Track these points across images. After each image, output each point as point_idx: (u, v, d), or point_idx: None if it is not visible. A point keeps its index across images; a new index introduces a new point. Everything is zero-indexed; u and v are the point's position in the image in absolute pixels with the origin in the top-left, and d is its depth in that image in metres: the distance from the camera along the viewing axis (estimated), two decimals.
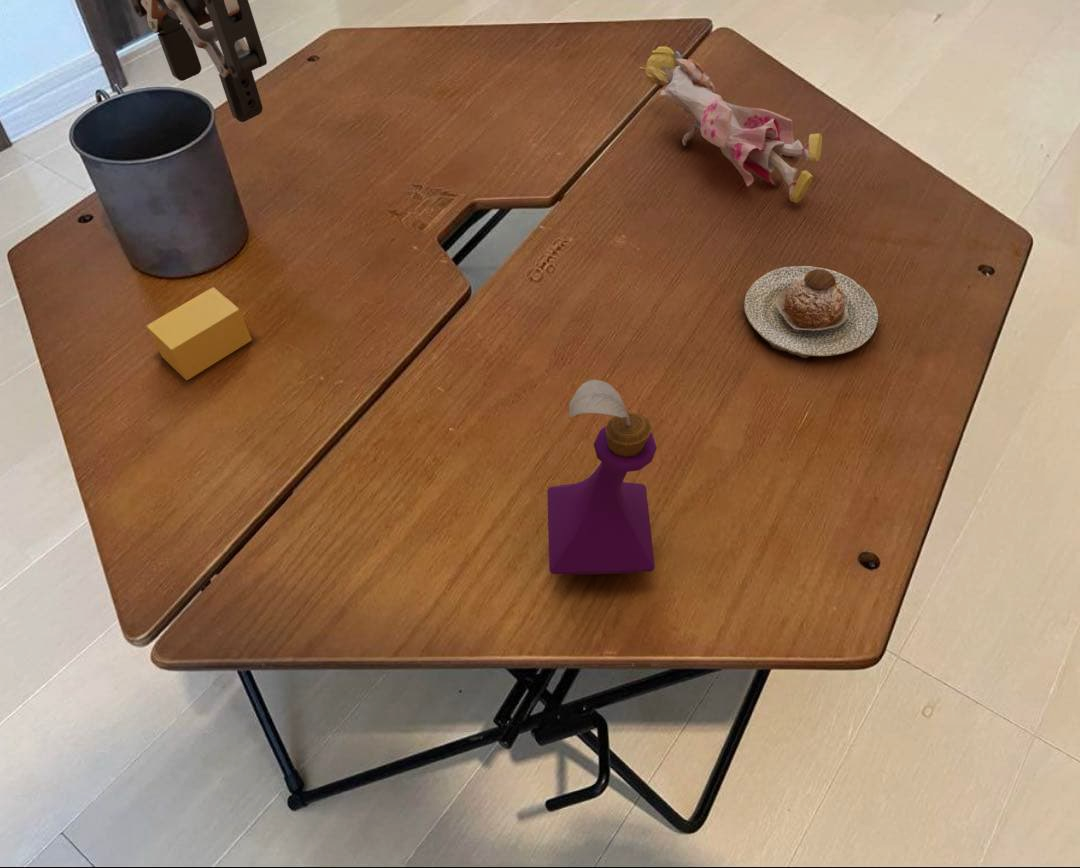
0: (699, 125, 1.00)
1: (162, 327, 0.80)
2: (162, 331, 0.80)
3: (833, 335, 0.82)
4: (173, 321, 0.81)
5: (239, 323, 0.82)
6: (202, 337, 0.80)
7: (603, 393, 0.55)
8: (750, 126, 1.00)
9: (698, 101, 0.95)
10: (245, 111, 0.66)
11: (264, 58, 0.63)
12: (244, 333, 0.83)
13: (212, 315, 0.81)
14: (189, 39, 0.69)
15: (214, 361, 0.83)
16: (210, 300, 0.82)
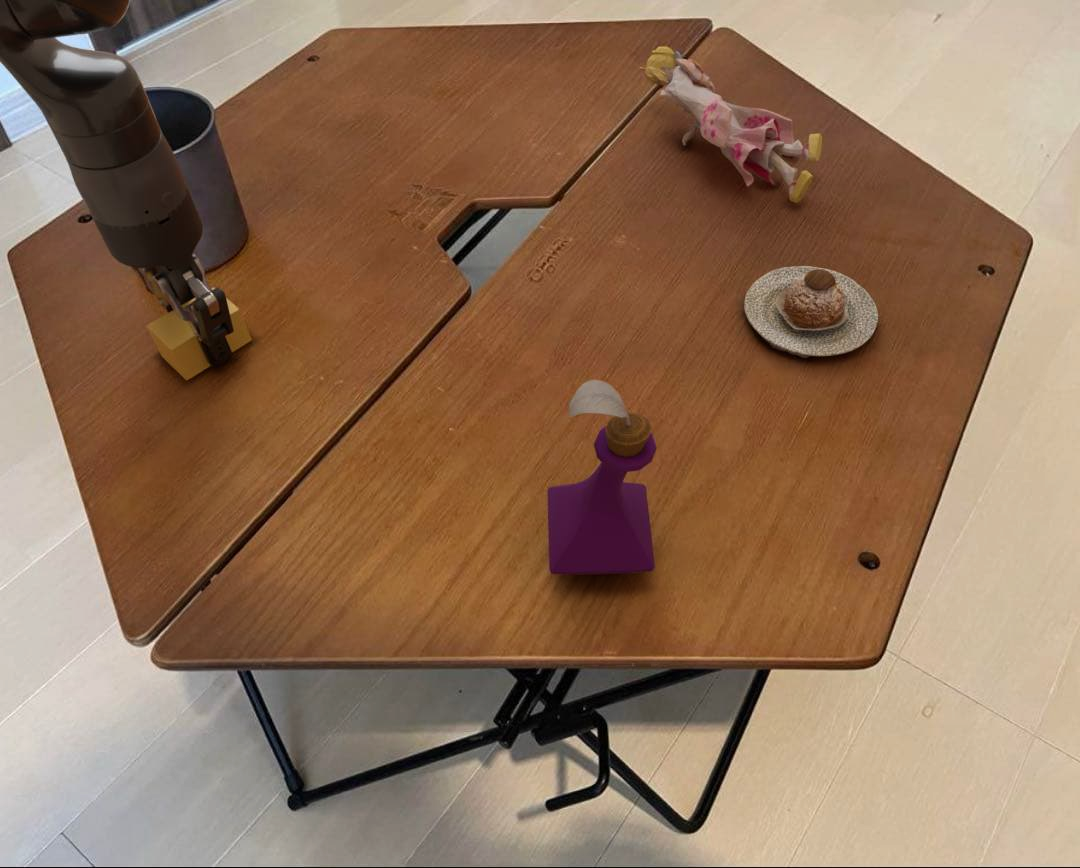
0: (699, 125, 1.00)
1: (162, 327, 0.80)
2: (162, 331, 0.80)
3: (833, 335, 0.82)
4: (173, 321, 0.81)
5: (239, 323, 0.82)
6: None
7: (603, 393, 0.55)
8: (750, 126, 1.00)
9: (698, 101, 0.95)
10: (217, 361, 0.81)
11: (232, 330, 0.78)
12: (244, 333, 0.83)
13: None
14: None
15: None
16: None
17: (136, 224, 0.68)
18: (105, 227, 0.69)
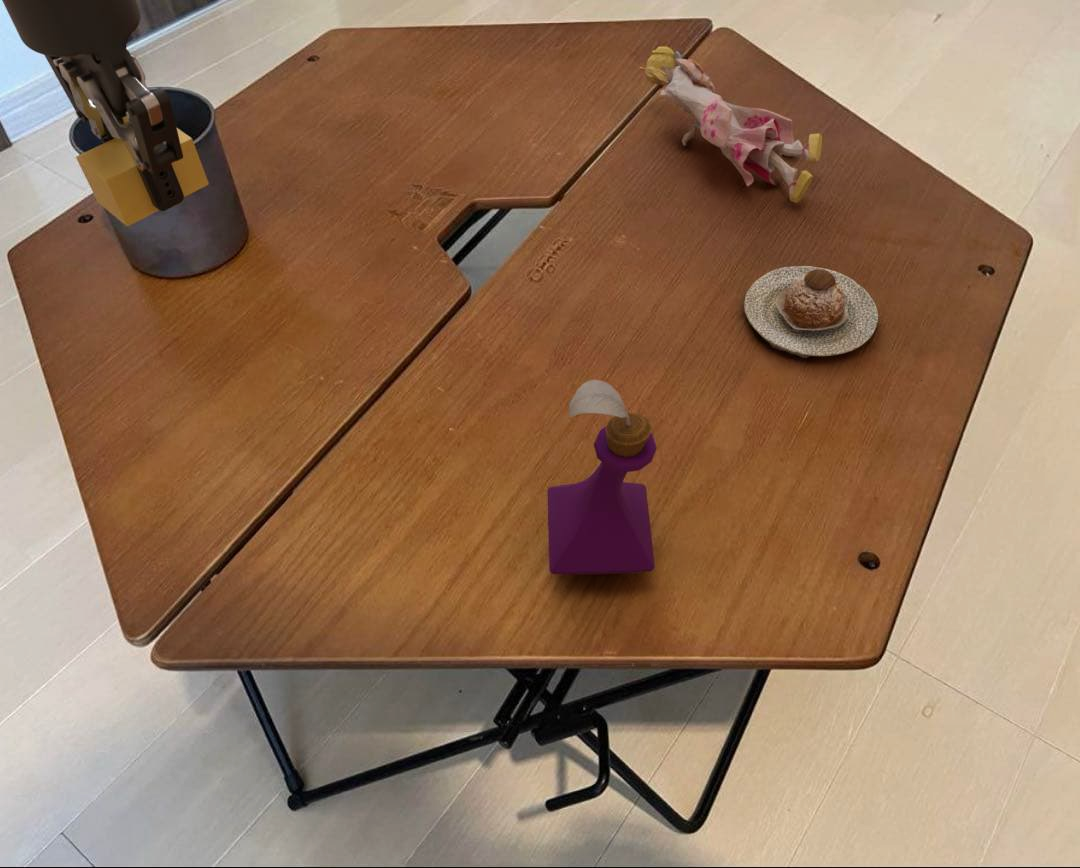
0: (699, 125, 1.00)
1: (95, 158, 0.65)
2: (95, 162, 0.64)
3: (833, 335, 0.82)
4: (109, 151, 0.65)
5: (192, 158, 0.67)
6: None
7: (603, 393, 0.55)
8: (750, 126, 1.00)
9: (698, 101, 0.95)
10: (165, 201, 0.66)
11: (181, 155, 0.63)
12: (198, 173, 0.68)
13: None
14: None
15: None
16: None
17: None
18: None
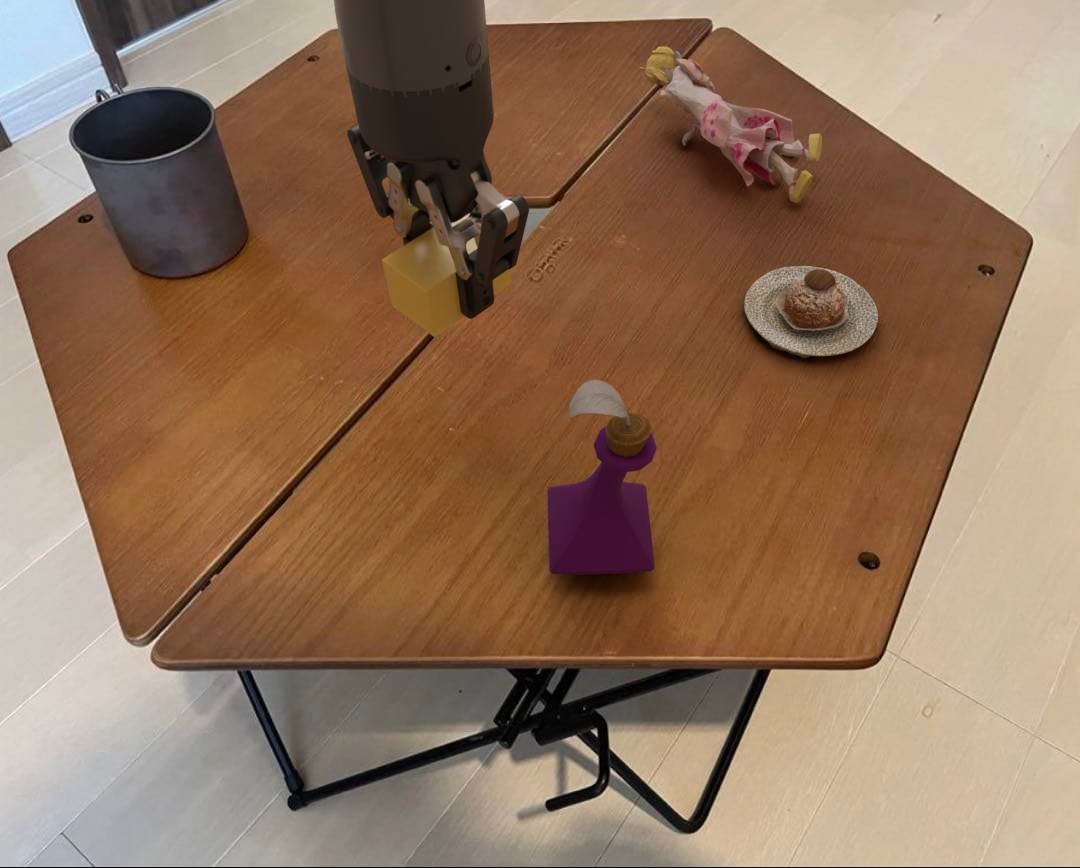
0: (699, 125, 1.00)
1: (405, 261, 0.57)
2: (407, 267, 0.56)
3: (833, 335, 0.82)
4: (419, 253, 0.57)
5: None
6: None
7: (603, 393, 0.55)
8: (750, 126, 1.00)
9: (698, 101, 0.95)
10: (479, 310, 0.58)
11: (515, 263, 0.55)
12: (506, 273, 0.60)
13: (472, 245, 0.58)
14: None
15: None
16: None
17: (429, 89, 0.45)
18: (379, 94, 0.46)
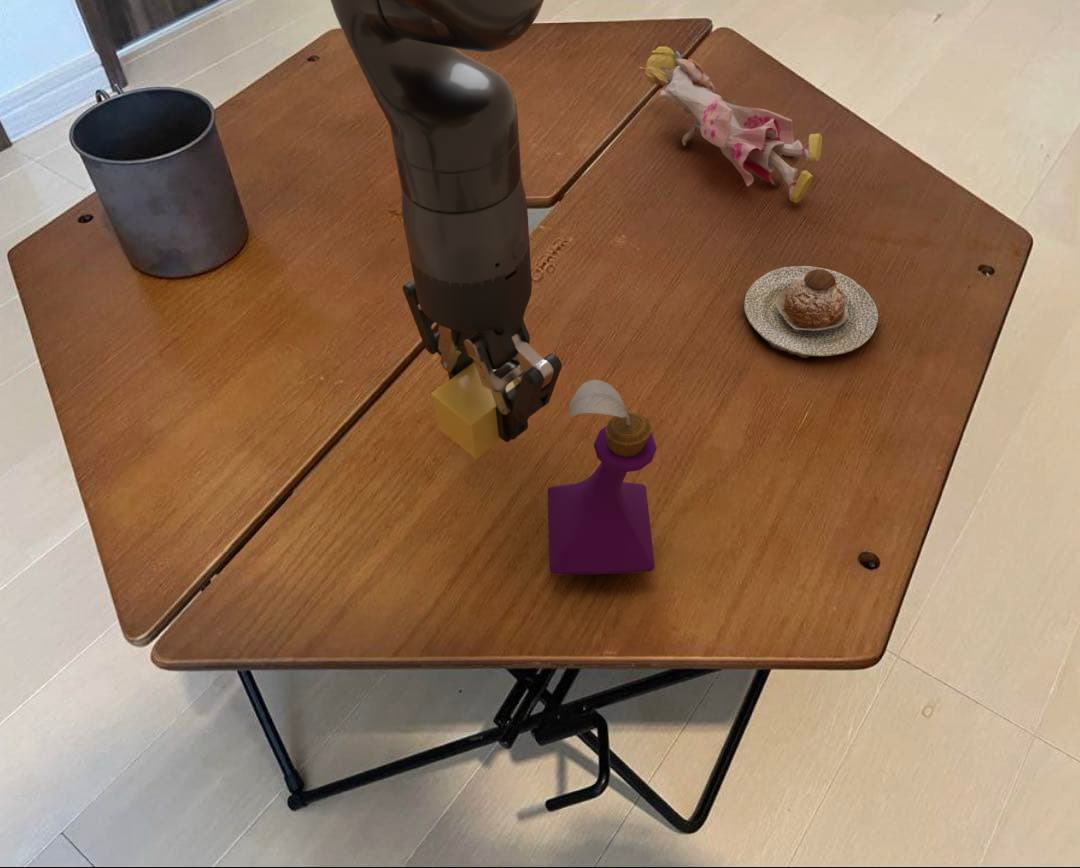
0: (699, 125, 1.00)
1: (452, 395, 0.65)
2: (453, 401, 0.65)
3: (833, 335, 0.82)
4: (463, 388, 0.66)
5: None
6: None
7: (603, 393, 0.55)
8: (750, 126, 1.00)
9: (698, 101, 0.95)
10: (515, 436, 0.66)
11: (548, 402, 0.63)
12: None
13: None
14: None
15: None
16: None
17: (481, 280, 0.54)
18: (439, 283, 0.54)
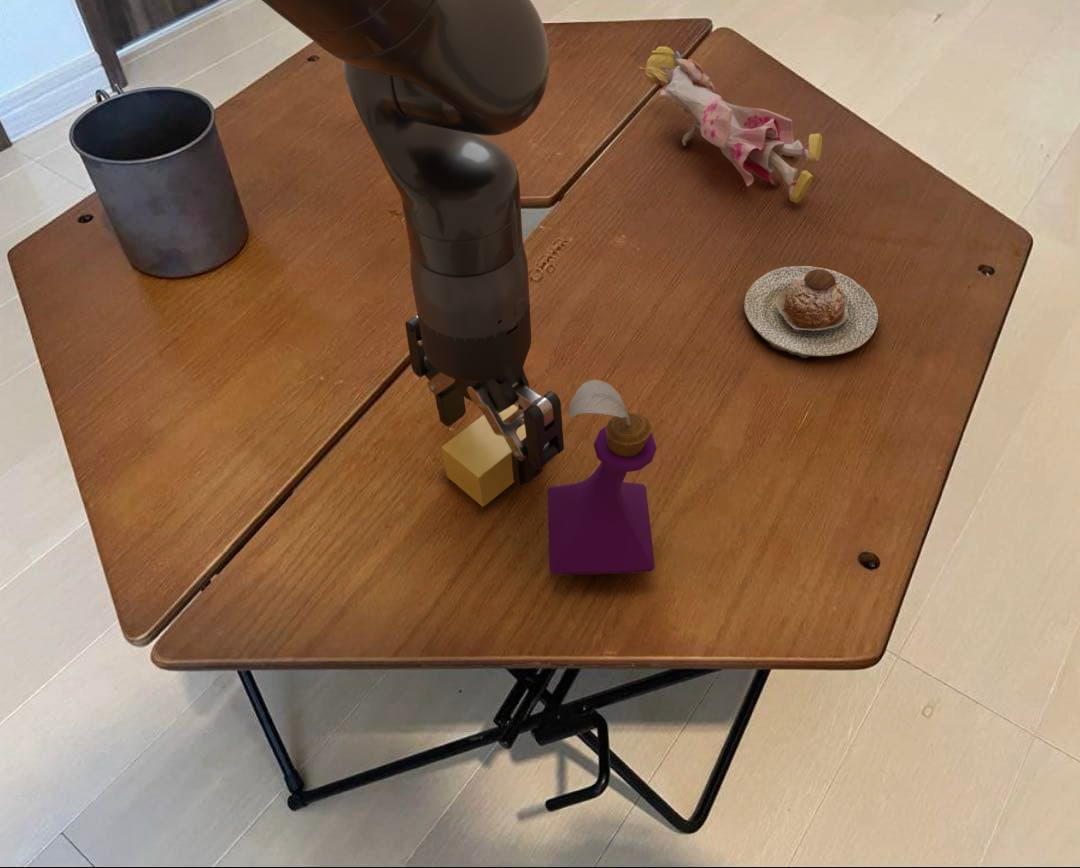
0: (699, 125, 1.00)
1: (460, 449, 0.70)
2: (462, 454, 0.70)
3: (833, 335, 0.82)
4: (471, 441, 0.71)
5: None
6: (507, 460, 0.70)
7: (603, 393, 0.55)
8: (750, 126, 1.00)
9: (698, 101, 0.95)
10: (529, 480, 0.68)
11: (562, 448, 0.65)
12: None
13: None
14: None
15: (509, 483, 0.73)
16: (507, 415, 0.72)
17: (484, 336, 0.57)
18: (444, 338, 0.58)
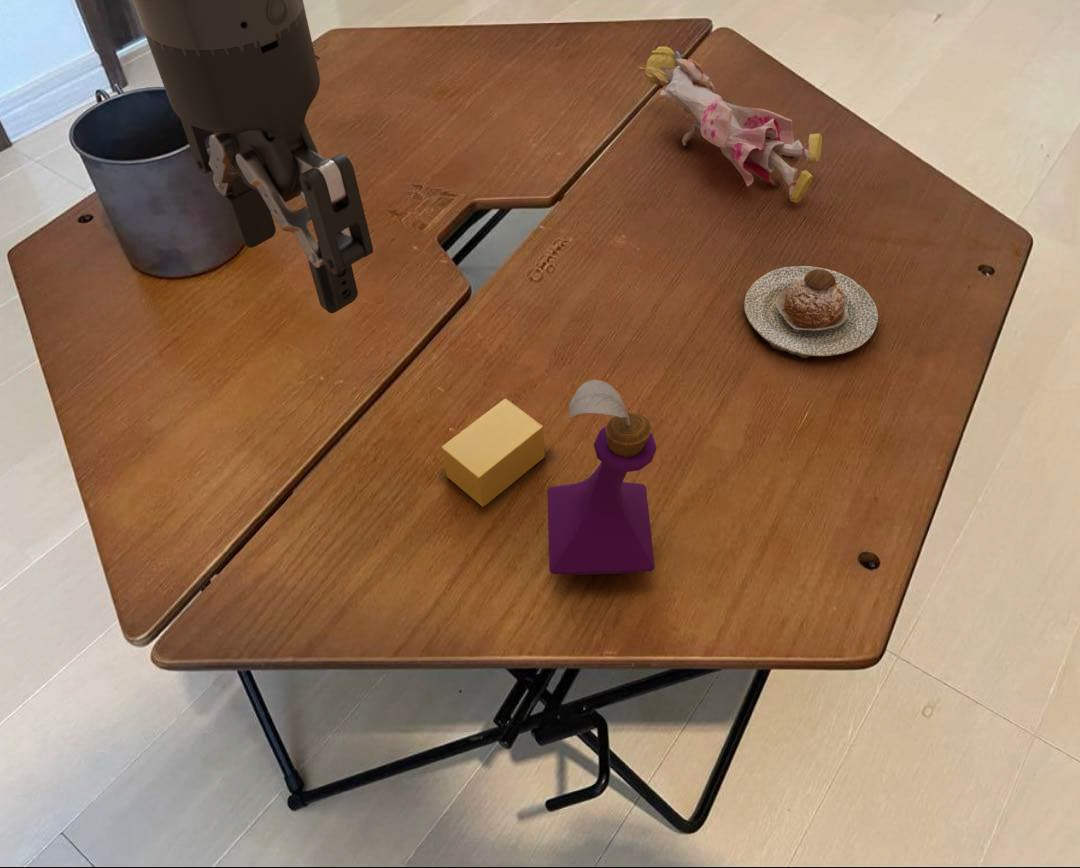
0: (699, 125, 1.00)
1: (460, 449, 0.70)
2: (462, 454, 0.70)
3: (833, 335, 0.82)
4: (471, 441, 0.71)
5: (539, 441, 0.72)
6: (507, 460, 0.70)
7: (603, 393, 0.55)
8: (750, 126, 1.00)
9: (698, 101, 0.95)
10: (338, 303, 0.52)
11: (371, 247, 0.48)
12: (540, 450, 0.73)
13: (513, 434, 0.71)
14: (264, 199, 0.55)
15: (509, 483, 0.73)
16: (507, 415, 0.72)
17: (225, 48, 0.41)
18: (172, 53, 0.41)
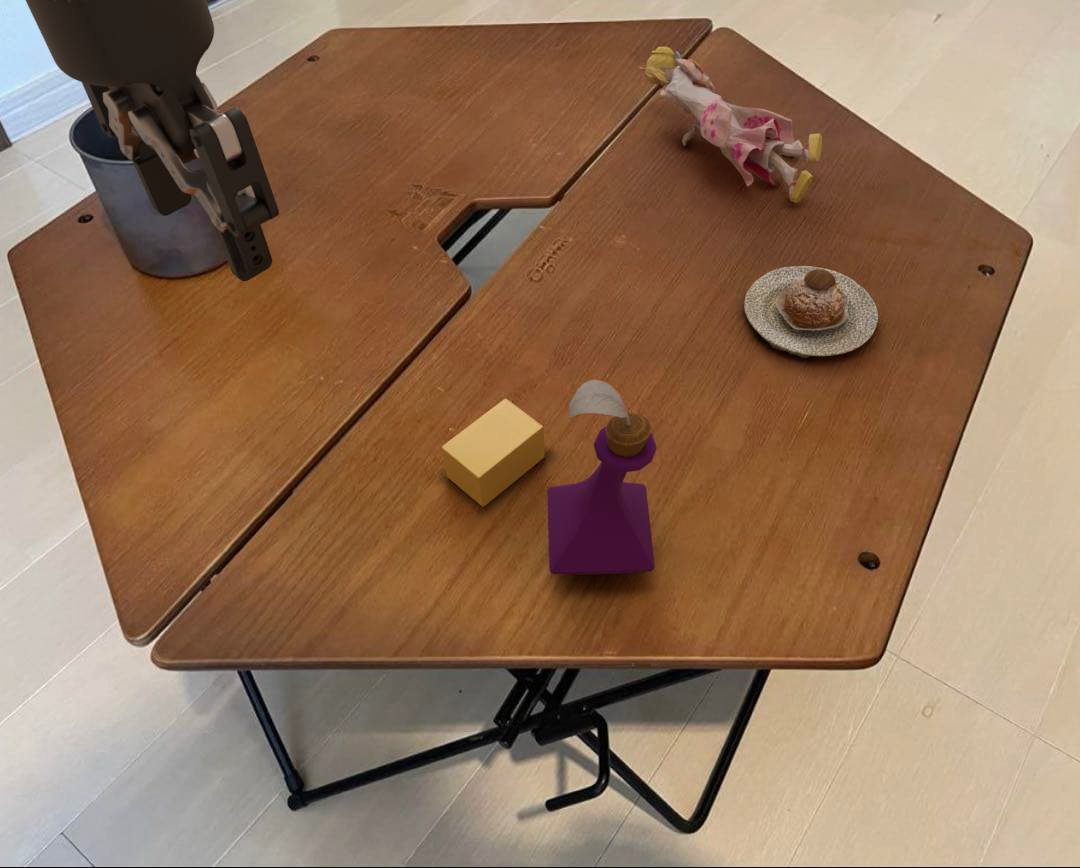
0: (699, 125, 1.00)
1: (460, 449, 0.70)
2: (462, 455, 0.70)
3: (833, 335, 0.82)
4: (471, 441, 0.71)
5: (539, 441, 0.72)
6: (507, 460, 0.70)
7: (603, 393, 0.55)
8: (750, 126, 1.00)
9: (698, 101, 0.95)
10: (249, 270, 0.49)
11: (276, 209, 0.46)
12: (540, 450, 0.73)
13: (513, 434, 0.71)
14: None
15: (510, 483, 0.73)
16: (507, 415, 0.72)
17: None
18: None
